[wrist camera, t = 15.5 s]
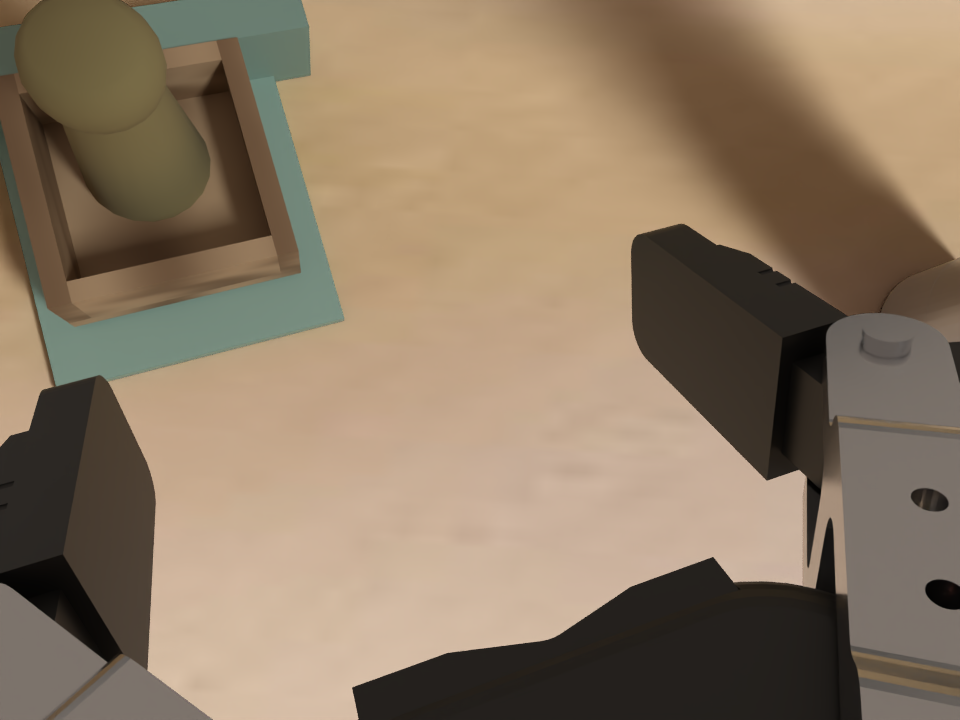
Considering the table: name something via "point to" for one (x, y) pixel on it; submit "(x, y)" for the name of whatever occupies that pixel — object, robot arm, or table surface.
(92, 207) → the wooden tray
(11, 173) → the track and backstop
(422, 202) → the table surface
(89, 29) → the olive knob
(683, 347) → the robot arm
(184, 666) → the table surface
